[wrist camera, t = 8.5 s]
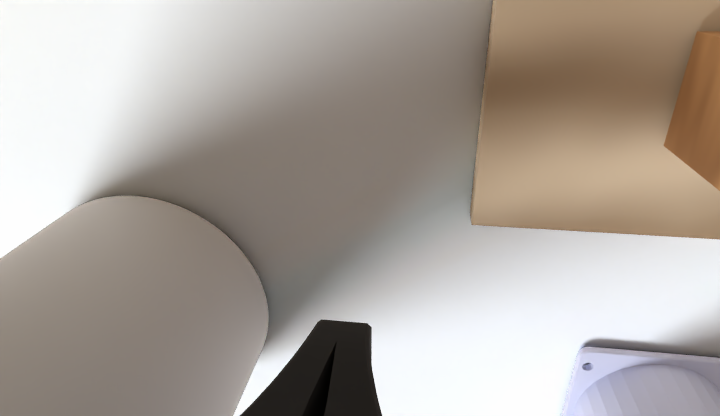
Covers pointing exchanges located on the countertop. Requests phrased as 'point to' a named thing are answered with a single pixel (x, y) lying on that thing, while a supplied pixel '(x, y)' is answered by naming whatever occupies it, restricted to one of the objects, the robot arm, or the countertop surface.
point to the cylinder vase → (128, 315)
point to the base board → (589, 118)
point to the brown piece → (699, 110)
